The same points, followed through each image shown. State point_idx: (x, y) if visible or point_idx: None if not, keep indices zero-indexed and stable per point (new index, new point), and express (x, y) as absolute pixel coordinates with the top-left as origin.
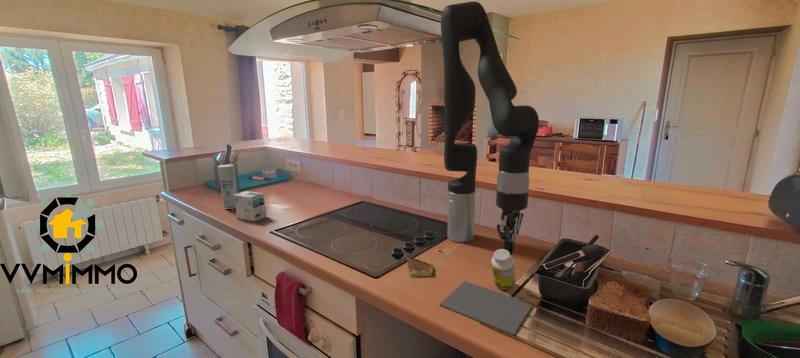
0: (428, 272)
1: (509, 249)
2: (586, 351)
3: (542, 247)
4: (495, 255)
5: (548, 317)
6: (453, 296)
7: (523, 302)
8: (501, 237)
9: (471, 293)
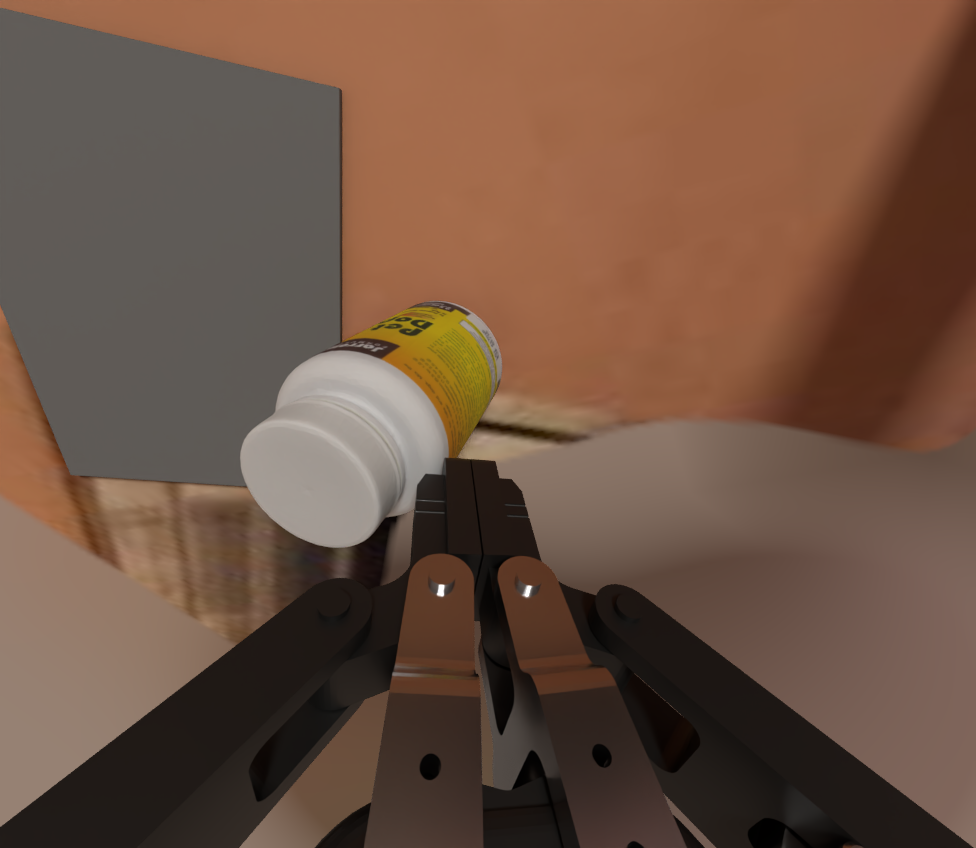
0: None
1: (412, 537)
2: (205, 625)
3: (903, 435)
4: (267, 438)
5: (300, 538)
6: (72, 67)
7: None
8: (261, 644)
9: (216, 198)
